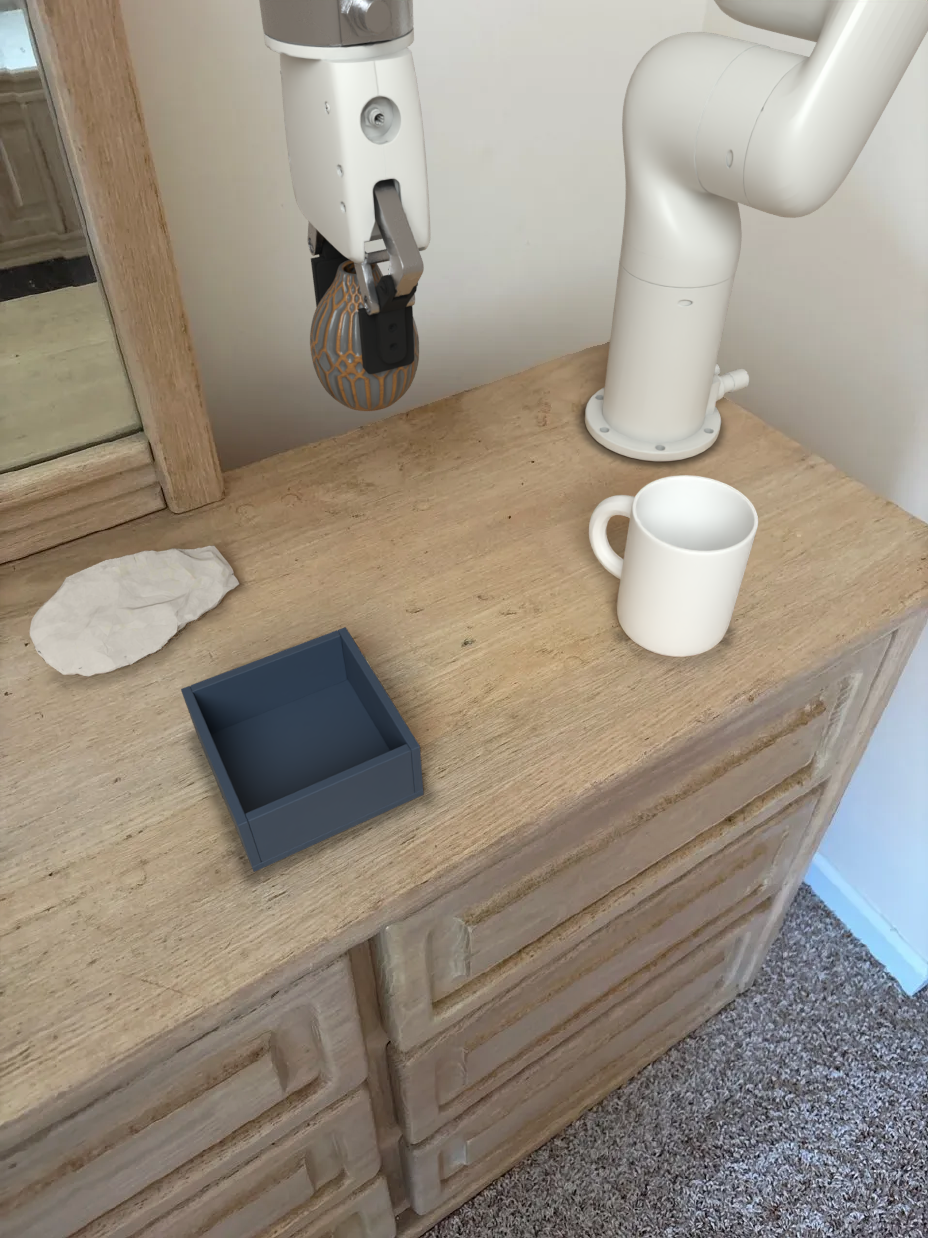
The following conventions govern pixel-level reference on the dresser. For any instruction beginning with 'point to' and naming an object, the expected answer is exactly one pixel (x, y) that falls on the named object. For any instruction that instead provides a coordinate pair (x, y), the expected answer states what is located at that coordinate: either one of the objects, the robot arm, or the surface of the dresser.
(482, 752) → the dresser surface
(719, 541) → the mug
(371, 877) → the dresser surface
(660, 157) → the robot arm
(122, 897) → the dresser surface
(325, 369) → the vase
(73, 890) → the dresser surface
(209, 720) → the bin
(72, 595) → the stone tool
